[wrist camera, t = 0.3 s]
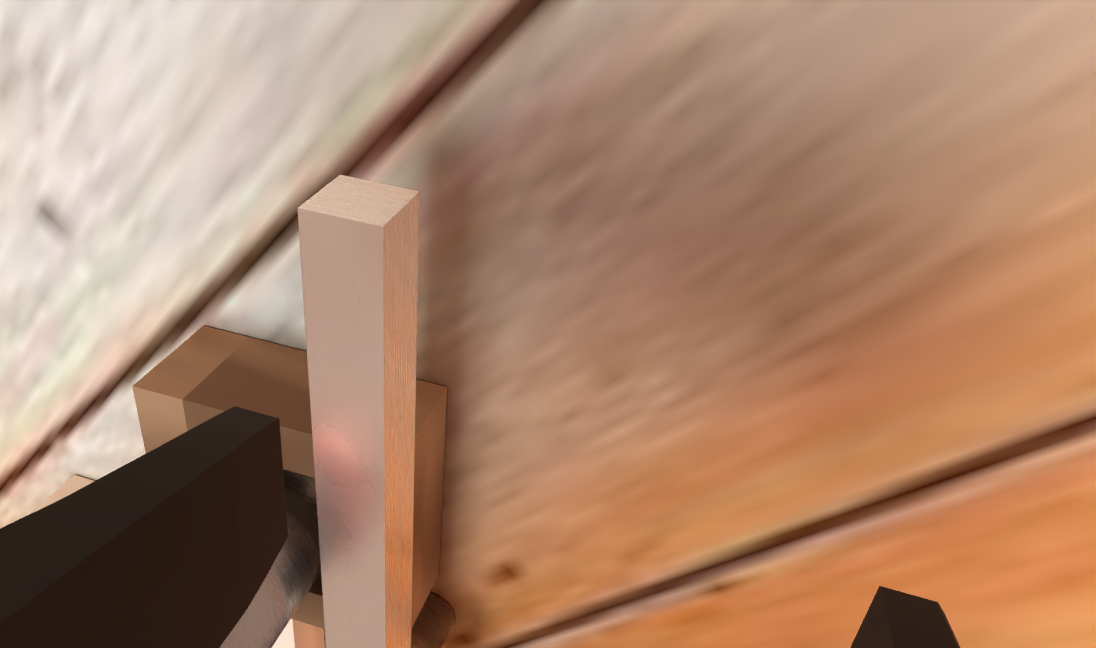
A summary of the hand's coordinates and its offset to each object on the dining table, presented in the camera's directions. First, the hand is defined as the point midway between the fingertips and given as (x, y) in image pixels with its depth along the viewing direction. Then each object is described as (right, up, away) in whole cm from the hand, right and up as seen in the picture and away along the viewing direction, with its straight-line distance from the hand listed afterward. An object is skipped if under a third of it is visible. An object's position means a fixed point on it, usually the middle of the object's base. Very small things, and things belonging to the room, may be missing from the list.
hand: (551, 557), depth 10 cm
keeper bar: (-4, -2, +11) cm, 12 cm away
